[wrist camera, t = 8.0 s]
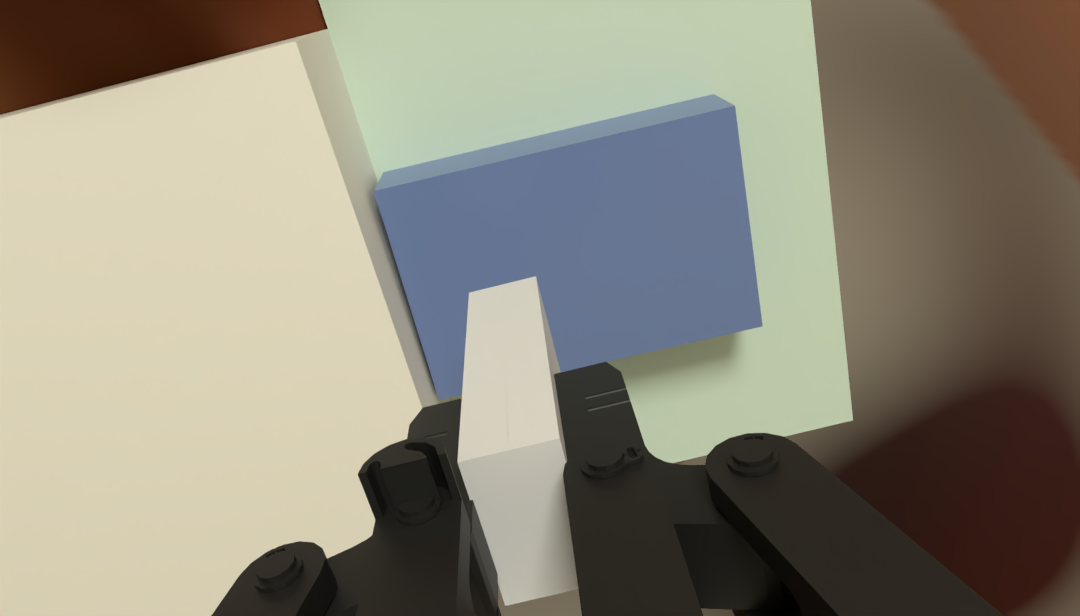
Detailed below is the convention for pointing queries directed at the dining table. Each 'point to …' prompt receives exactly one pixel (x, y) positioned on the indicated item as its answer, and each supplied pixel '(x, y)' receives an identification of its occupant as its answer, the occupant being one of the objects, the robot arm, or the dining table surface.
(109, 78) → the dining table surface
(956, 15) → the dining table surface
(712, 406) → the mat
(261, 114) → the cream flat block
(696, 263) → the blue rectangular block
